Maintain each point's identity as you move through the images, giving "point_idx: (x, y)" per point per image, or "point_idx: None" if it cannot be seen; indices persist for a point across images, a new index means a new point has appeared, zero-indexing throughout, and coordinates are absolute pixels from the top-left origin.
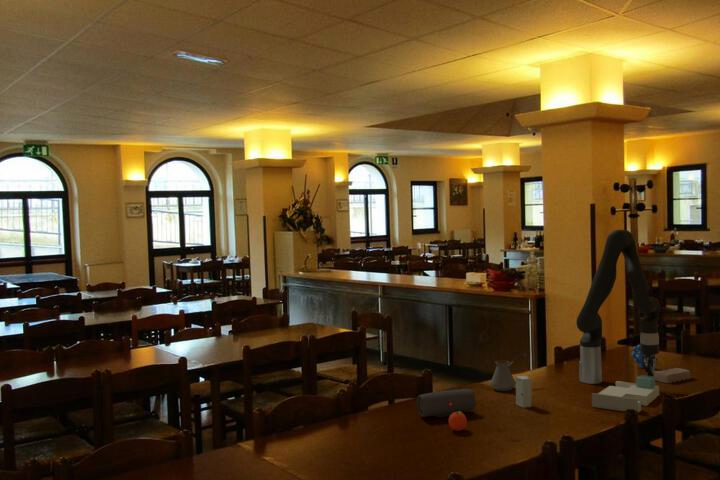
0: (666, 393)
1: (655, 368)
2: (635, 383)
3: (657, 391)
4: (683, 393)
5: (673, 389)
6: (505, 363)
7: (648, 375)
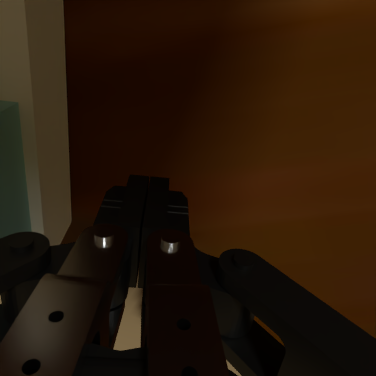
0: None
1: (253, 338)
2: (8, 35)
3: None
4: None
5: None
6: None
7: (96, 223)
